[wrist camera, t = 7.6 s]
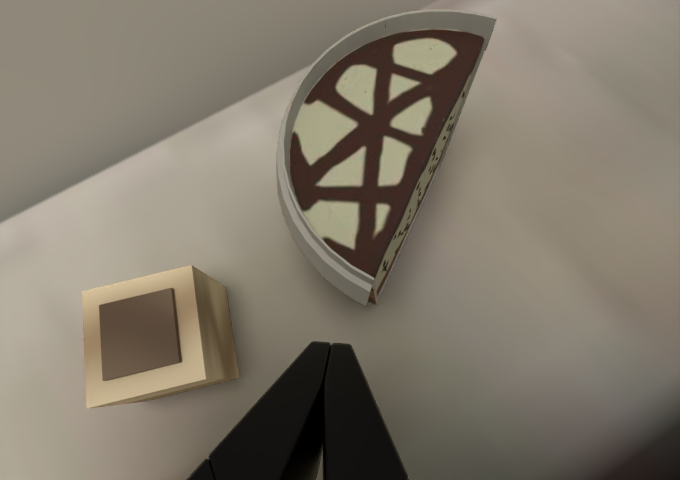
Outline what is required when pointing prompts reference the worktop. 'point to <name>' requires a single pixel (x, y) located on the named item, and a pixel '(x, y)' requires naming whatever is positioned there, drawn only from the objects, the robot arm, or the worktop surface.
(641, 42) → the worktop surface
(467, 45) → the food container
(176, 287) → the number block
